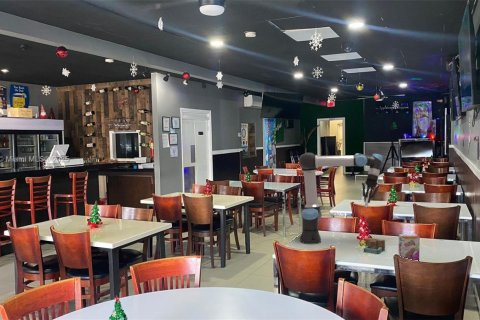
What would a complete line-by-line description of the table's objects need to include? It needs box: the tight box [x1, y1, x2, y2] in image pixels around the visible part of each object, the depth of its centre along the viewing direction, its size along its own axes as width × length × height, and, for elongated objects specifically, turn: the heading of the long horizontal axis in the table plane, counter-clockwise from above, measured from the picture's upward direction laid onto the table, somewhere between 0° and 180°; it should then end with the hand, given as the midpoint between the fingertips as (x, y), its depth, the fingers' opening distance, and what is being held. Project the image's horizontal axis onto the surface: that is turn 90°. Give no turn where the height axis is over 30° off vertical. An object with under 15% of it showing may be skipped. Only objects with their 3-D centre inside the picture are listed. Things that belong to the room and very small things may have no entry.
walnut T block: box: [364, 237, 386, 252], centre depth 280 cm, size 12×10×7 cm
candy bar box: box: [398, 233, 420, 262], centre depth 253 cm, size 11×5×16 cm, turn 84°
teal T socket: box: [363, 246, 383, 255], centre depth 277 cm, size 10×8×2 cm
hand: (365, 206), depth 298 cm, fingers closed
